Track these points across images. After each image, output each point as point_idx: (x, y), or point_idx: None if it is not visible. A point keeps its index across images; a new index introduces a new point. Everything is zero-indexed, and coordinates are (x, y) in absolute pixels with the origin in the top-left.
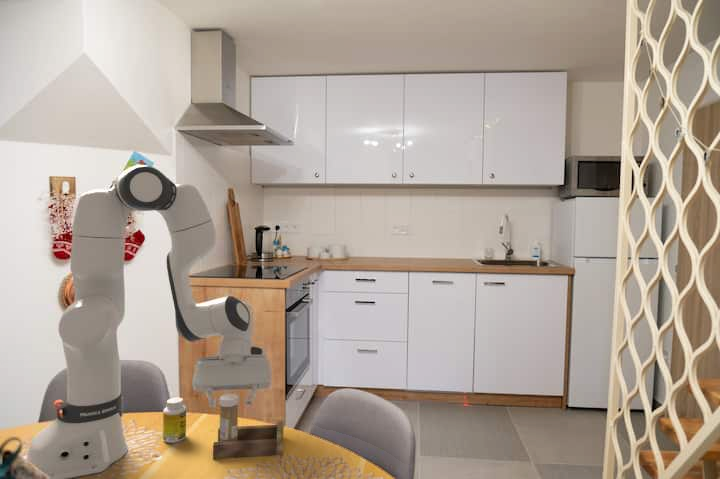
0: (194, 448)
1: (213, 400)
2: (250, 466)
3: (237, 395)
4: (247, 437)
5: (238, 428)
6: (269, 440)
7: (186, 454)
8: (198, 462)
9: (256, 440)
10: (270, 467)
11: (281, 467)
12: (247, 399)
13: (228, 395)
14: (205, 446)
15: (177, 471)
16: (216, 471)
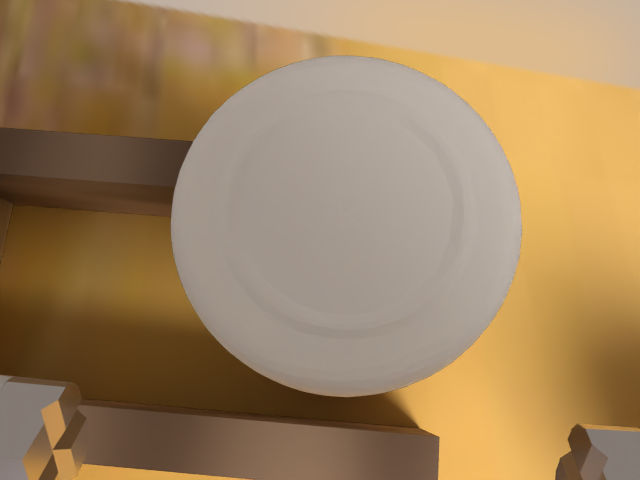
0: (585, 381)
1: (620, 464)
2: (195, 73)
3: (182, 231)
4: (189, 409)
5: (252, 433)
6: (15, 150)
7: (623, 299)
8: (518, 176)
9: (114, 171)
10: (81, 42)
11: (19, 31)
12: (42, 409)
13: (360, 256)
14: (508, 397)
15: (625, 96)
16: (392, 56)
